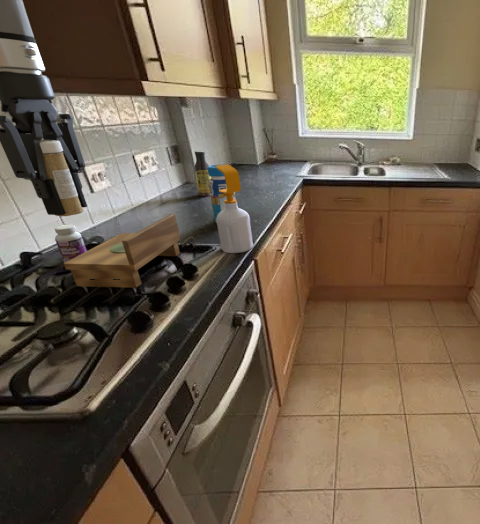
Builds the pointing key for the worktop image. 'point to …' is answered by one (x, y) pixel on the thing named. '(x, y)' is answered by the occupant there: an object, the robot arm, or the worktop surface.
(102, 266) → the shelf
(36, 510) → the worktop surface
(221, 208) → the blue canister
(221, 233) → the soap bottle
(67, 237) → the pill bottle
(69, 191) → the sprinkles bottle
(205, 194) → the sauce bottle
